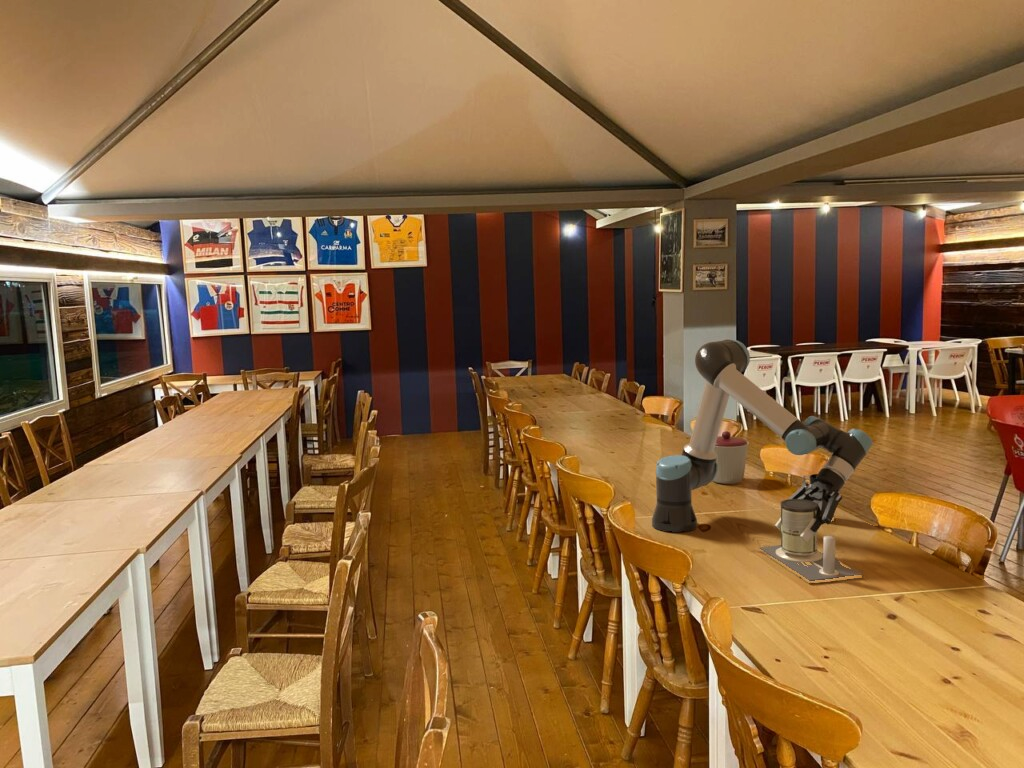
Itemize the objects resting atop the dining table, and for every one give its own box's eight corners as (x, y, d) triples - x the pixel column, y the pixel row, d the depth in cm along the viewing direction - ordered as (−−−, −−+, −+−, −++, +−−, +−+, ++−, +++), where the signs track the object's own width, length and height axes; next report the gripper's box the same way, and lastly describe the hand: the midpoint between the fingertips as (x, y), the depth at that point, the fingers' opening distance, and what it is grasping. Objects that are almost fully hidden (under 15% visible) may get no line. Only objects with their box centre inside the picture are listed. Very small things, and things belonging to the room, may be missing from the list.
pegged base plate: (809, 584, 199) (809, 544, 198) (759, 551, 226) (759, 515, 224) (863, 578, 202) (863, 538, 201) (807, 546, 228) (807, 510, 227)
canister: (704, 486, 302) (704, 435, 299) (703, 475, 319) (703, 427, 317) (750, 487, 297) (750, 435, 295) (747, 476, 315) (747, 427, 312)
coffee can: (774, 544, 223) (775, 499, 222) (808, 543, 224) (808, 497, 222) (788, 556, 213) (789, 509, 212) (824, 554, 213) (824, 507, 212)
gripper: (870, 491, 211) (826, 553, 207) (813, 474, 232) (772, 530, 229) (856, 475, 208) (811, 537, 205) (800, 459, 230) (758, 515, 226)
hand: (790, 533), depth 217 cm, fingers closed on coffee can, 10 cm apart
